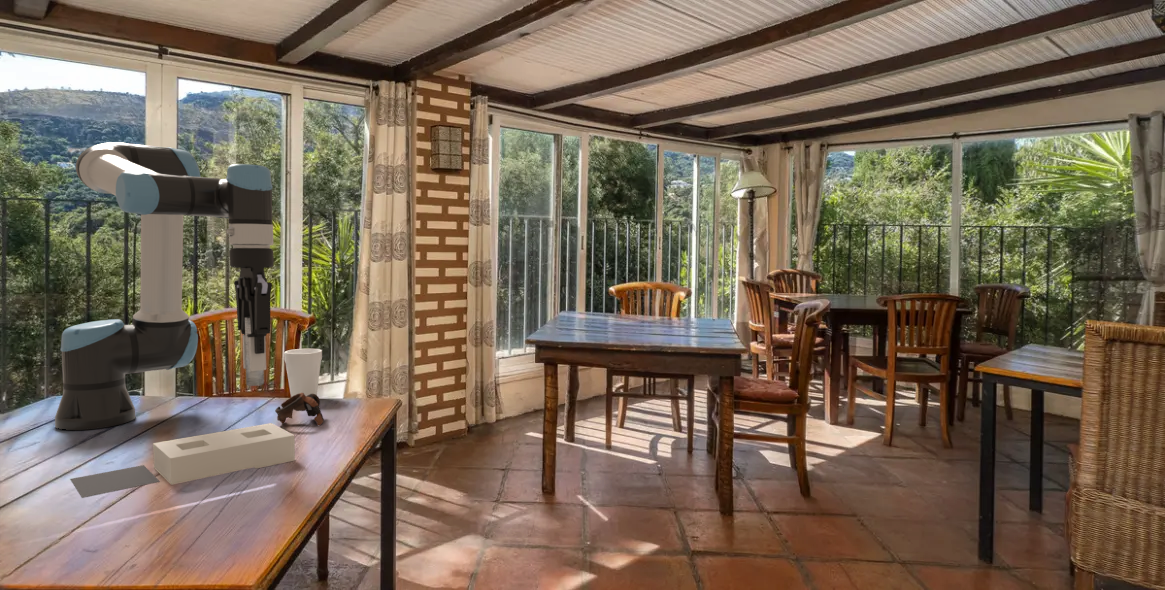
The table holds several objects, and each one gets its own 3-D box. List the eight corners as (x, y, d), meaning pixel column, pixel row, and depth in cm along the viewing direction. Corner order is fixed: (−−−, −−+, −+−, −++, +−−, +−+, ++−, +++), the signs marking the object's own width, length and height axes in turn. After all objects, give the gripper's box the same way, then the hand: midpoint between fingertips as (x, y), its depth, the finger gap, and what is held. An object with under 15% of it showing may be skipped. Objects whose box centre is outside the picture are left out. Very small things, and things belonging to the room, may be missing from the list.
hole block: (153, 469, 124) (153, 443, 123) (271, 446, 138) (271, 423, 138) (171, 486, 115) (170, 458, 115) (294, 460, 130) (294, 435, 130)
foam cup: (299, 404, 175) (298, 355, 174) (277, 399, 180) (276, 351, 179) (330, 397, 183) (329, 350, 182) (308, 393, 188) (307, 347, 187)
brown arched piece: (317, 431, 152) (297, 402, 150) (284, 447, 154) (263, 418, 152) (338, 406, 163) (319, 378, 161) (306, 421, 165) (287, 394, 163)
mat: (70, 481, 117) (70, 478, 117) (143, 467, 125) (143, 464, 125) (82, 500, 109) (81, 497, 109) (160, 483, 117) (160, 481, 117)
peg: (244, 384, 129) (242, 317, 129) (260, 382, 132) (258, 316, 131) (249, 386, 127) (247, 318, 126) (266, 384, 129) (264, 317, 129)
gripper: (216, 246, 131) (220, 365, 132) (245, 247, 119) (248, 377, 121) (257, 247, 136) (260, 361, 138) (287, 247, 125) (290, 372, 126)
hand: (254, 368), depth 129 cm, fingers closed on peg, 3 cm apart
